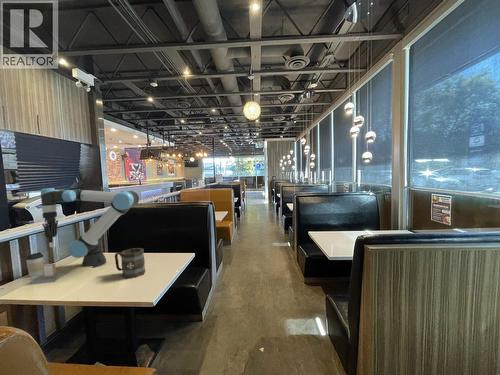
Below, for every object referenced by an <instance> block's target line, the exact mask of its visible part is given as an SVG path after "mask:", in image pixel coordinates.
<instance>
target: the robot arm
mask: <svg viewBox="0 0 500 375" xmlns="http://www.w3.org/2000/svg"><path fill="white" fill-rule="evenodd" d="M138 194H139V193H137V192H135V191H133V190H126V191H124V190H122V191H120V192H118V191H103V190H87V189H77V188H76V189H67V190H56V189H55V188H53V187H52V188H51V187H50V188H49V187H48V188H42V189H41V190H40V199H41V211H42V219H44V223H42V227H43V231H44V234H45V237H46V238H47V239H48V242H49V248H56V237H57V235H58V223H59V220H56V217H58V212H57V203H70V202H75V201H83V202H84V201H86V202H101V203H109V207H108V208H107V209H106V211H105V212H103V214H102V215H101V216H100V217H99V218H98V219H97V220H96V221H95V223H94V224H93V225H92V226H91V227H90V228H89V229H88V230H87V231H86V232H83V233H81V234H80V235H79V236H78V238H77V239H76V240H72V242H70V244H69V245H68V252H69V254H70V255H71V256H72V257H74V258H76V259H80V258H83V259H82V262H81V266H82V267H87V268H88V267H90V268H91V269H92V268H98V267H100V266H103V265H105V264H107V258H106V255H105V254H104V250H103V237H102V236H103V235H104V234H105V233H106V232H107V231H108V230H109V229H110V227H111V226H112V225H113V224H114V223H115V222H116V221H117V220H118V219H119V217H121V216H122V215H125V214H126V213H127V212H128V211H129V210H130V209H131V208H133V207H135V206H137V205H138V203H139V201H140V195H138Z"/></svg>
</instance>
